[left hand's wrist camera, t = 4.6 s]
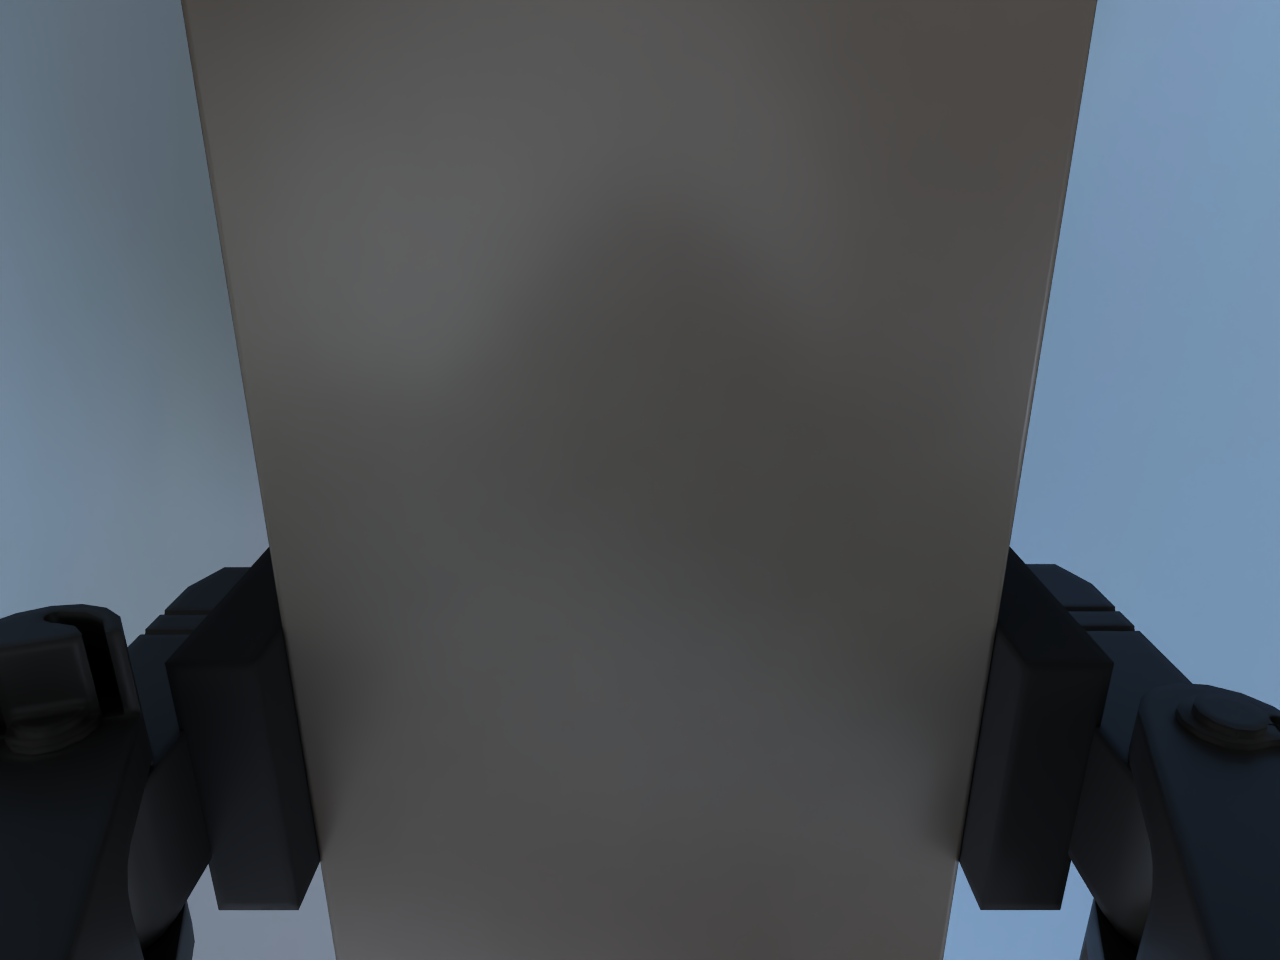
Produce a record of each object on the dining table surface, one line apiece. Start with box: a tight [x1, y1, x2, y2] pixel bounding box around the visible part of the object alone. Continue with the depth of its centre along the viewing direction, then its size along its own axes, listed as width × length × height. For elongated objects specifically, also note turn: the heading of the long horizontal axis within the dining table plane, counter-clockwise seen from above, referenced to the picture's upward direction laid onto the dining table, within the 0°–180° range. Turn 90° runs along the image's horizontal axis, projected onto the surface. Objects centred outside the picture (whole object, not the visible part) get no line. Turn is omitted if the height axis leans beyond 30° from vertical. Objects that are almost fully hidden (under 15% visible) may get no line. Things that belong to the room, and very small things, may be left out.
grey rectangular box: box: [181, 0, 1097, 960], centre depth 12 cm, size 21×6×12 cm, turn 0°
